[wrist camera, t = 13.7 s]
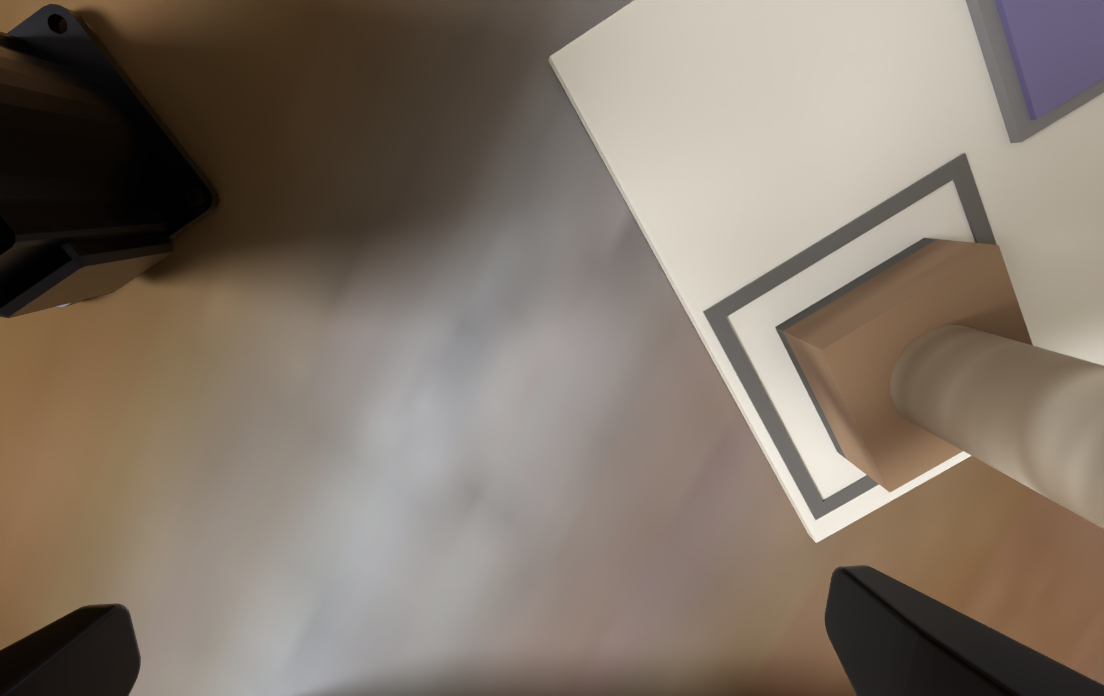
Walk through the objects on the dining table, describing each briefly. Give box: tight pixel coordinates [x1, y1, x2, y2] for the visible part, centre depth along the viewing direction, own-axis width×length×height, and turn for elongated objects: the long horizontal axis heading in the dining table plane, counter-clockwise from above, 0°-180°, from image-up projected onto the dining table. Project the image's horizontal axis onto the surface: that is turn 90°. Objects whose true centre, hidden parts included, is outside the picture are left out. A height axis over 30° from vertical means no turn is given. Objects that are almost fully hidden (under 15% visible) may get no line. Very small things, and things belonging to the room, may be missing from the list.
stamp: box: [775, 238, 1104, 529], centre depth 14 cm, size 6×6×12 cm
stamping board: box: [548, 0, 1104, 543], centre depth 19 cm, size 21×21×1 cm
